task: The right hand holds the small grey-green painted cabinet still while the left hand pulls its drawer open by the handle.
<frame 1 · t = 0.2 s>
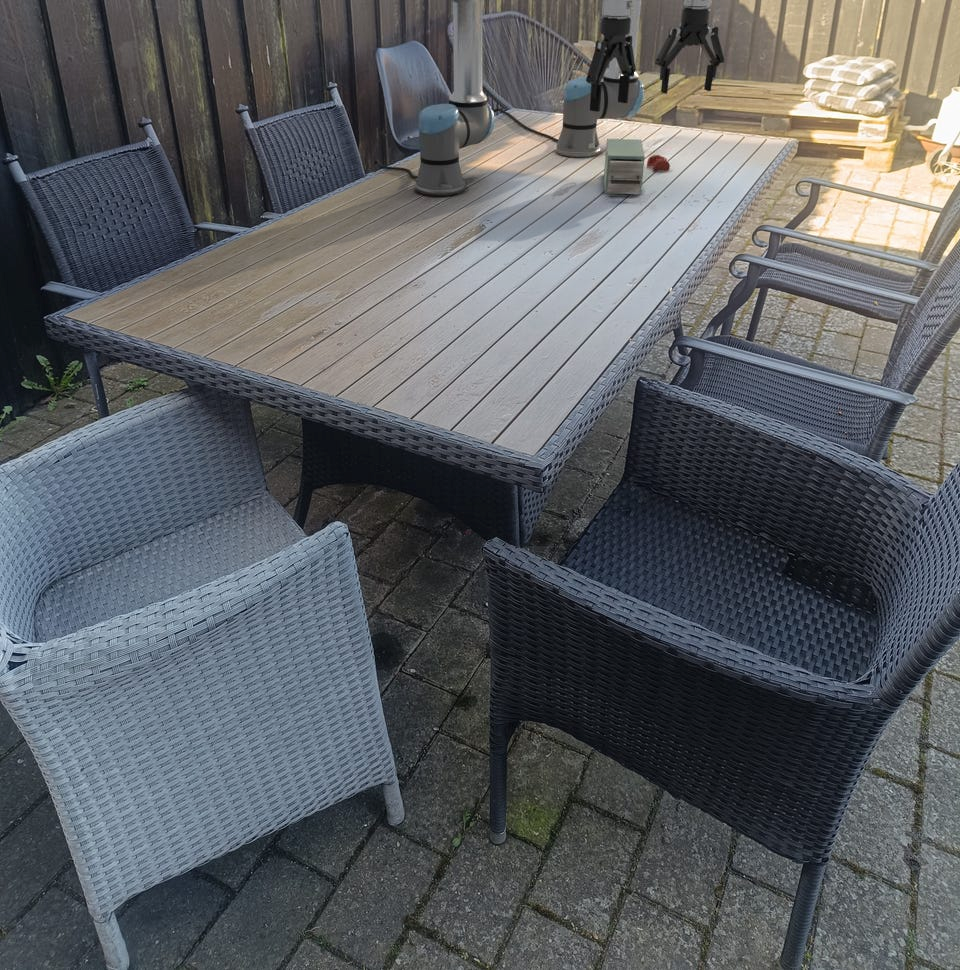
left hand: (608, 106, 226), 28 cm above the table, tool pointing down, fingers open, 13 cm apart
right hand: (685, 91, 242), 28 cm above the table, tool pointing down, fingers open, 13 cm apart
drawer: (624, 171, 255), point 6 cm above the table, slide at 1.8 cm
red-brown rounded lump: (657, 169, 277), on the table
cabinet: (621, 184, 263), on the table
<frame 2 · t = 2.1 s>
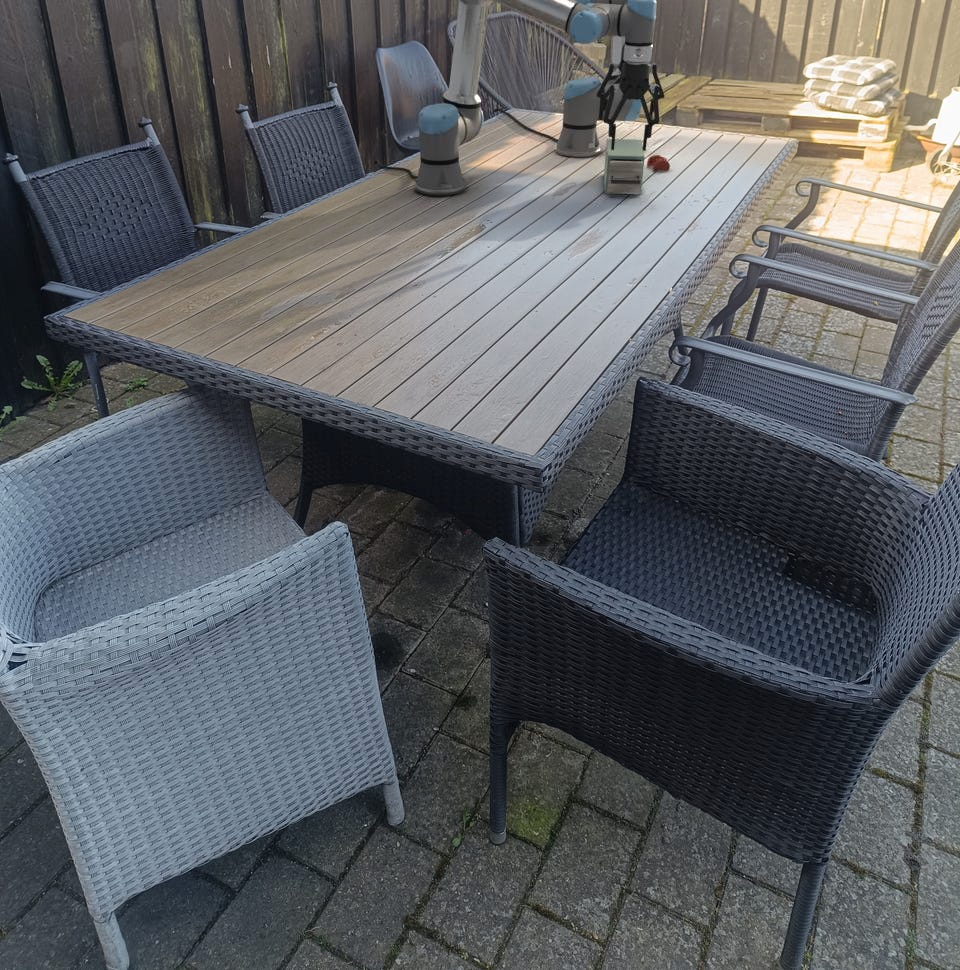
left hand: (628, 149, 242), 14 cm above the table, tool pointing down, fingers open, 8 cm apart
right hand: (627, 122, 258), 17 cm above the table, tool pointing down, fingers open, 13 cm apart
nothing on the table moved.
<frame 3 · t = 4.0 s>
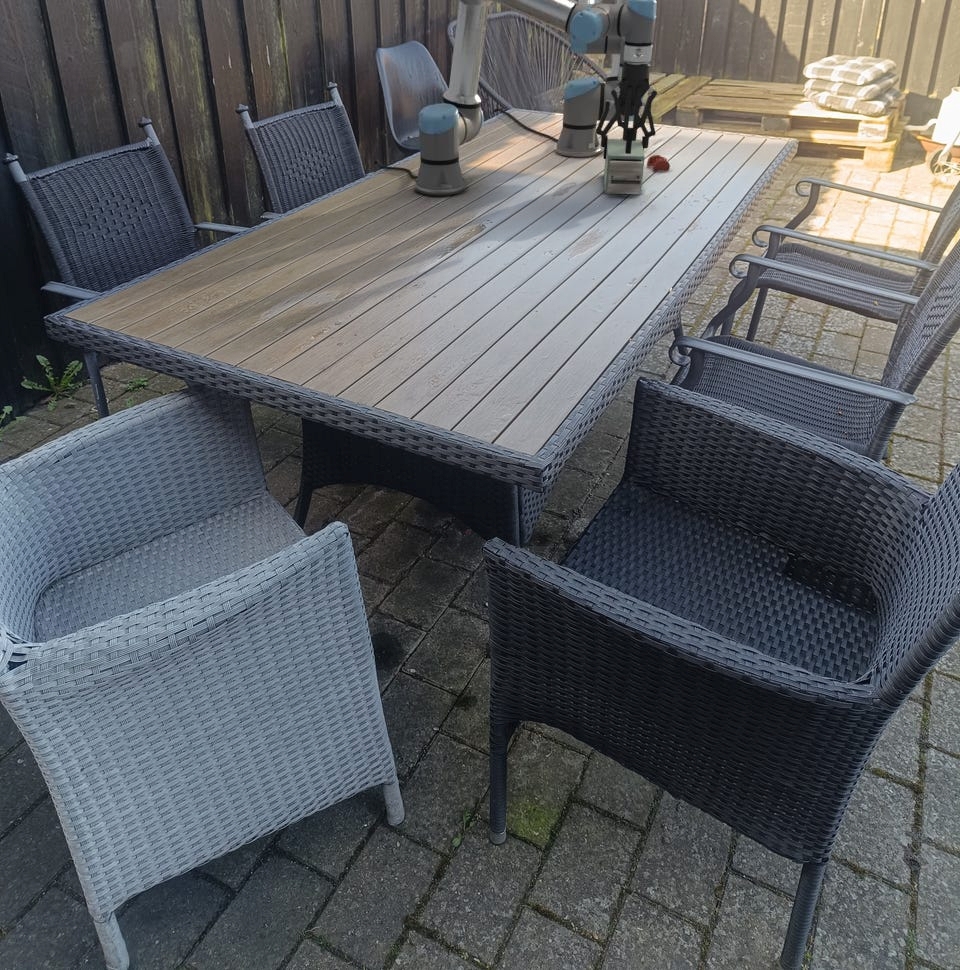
left hand: (627, 152, 243), 13 cm above the table, tool pointing down, fingers closed
right hand: (623, 158, 264), 6 cm above the table, tool pointing down, fingers closed on cabinet, 11 cm apart
cabinet: (621, 184, 263), on the table, touching right hand
everything else where it was.
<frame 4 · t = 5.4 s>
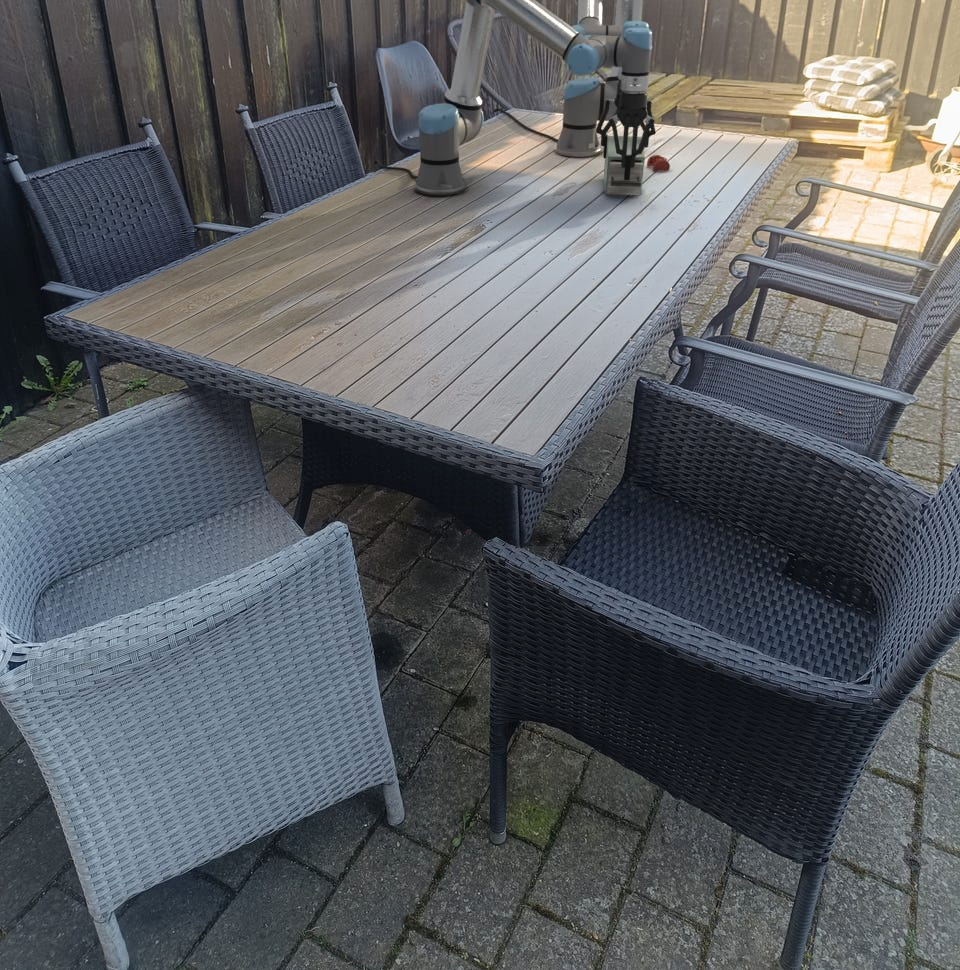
left hand: (626, 178, 246), 6 cm above the table, tool pointing down, fingers closed
right hand: (623, 157, 263), 7 cm above the table, tool pointing down, fingers closed on cabinet, 11 cm apart
drawer: (624, 171, 254), point 6 cm above the table, slide at 1.9 cm, touching left hand
cabinet: (621, 182, 263), point 1 cm above the table, touching right hand
everything else where it was.
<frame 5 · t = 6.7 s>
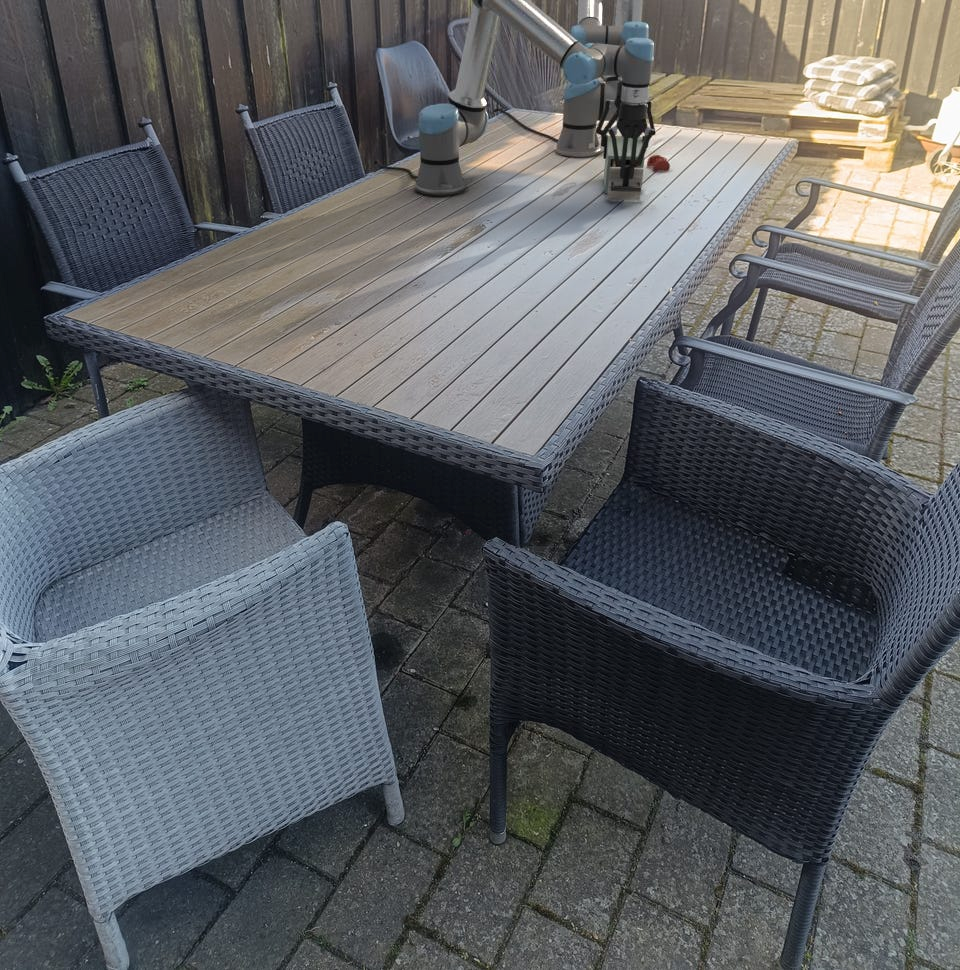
left hand: (625, 189, 244), 4 cm above the table, tool pointing down, fingers closed
right hand: (623, 158, 263), 7 cm above the table, tool pointing down, fingers closed on cabinet, 11 cm apart
drawer: (624, 176, 250), point 6 cm above the table, slide at 6.9 cm, touching left hand
cabinet: (621, 182, 263), point 1 cm above the table, touching right hand
everything else where it was.
when the right hand's fingers open (6 cm above the table, at t = 8.4 s): cabinet stays where it is, on the table.
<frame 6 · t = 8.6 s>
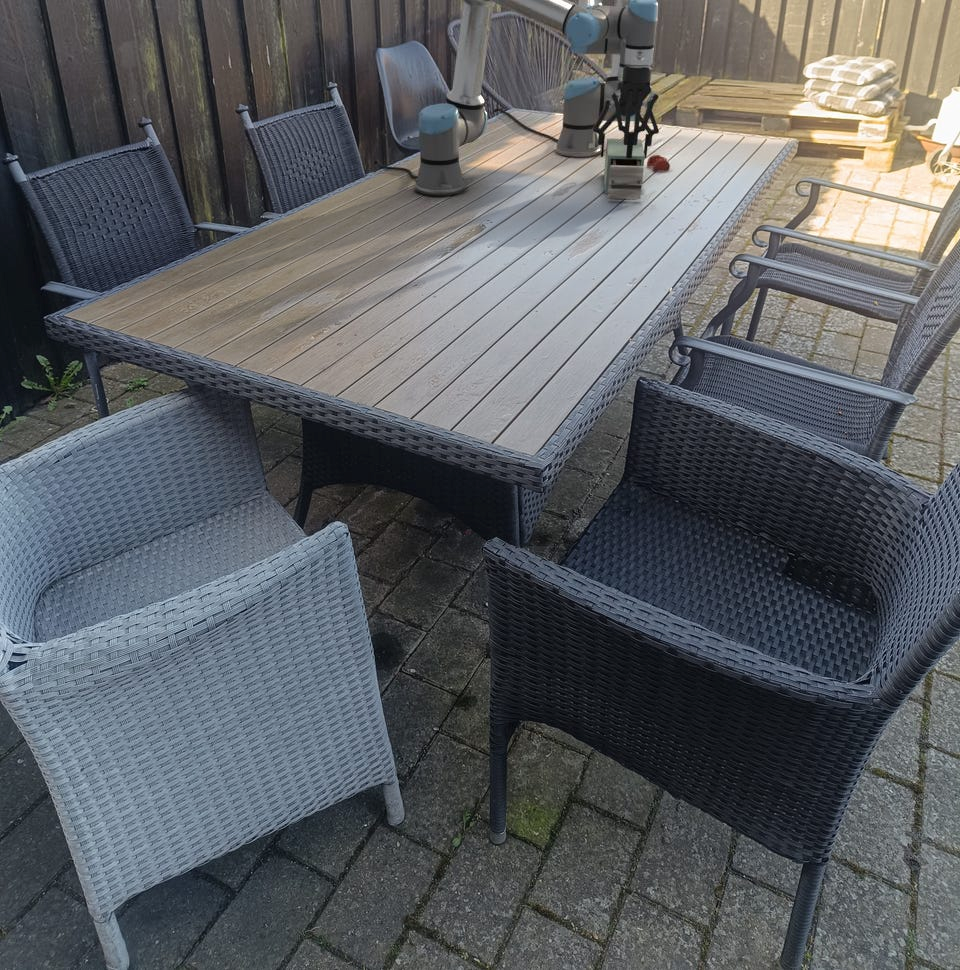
left hand: (628, 156, 239), 13 cm above the table, tool pointing down, fingers closed
right hand: (623, 156, 263), 7 cm above the table, tool pointing down, fingers open, 13 cm apart
drawer: (624, 176, 251), point 6 cm above the table, slide at 6.9 cm
cabinet: (621, 184, 263), on the table
everything else where it was.
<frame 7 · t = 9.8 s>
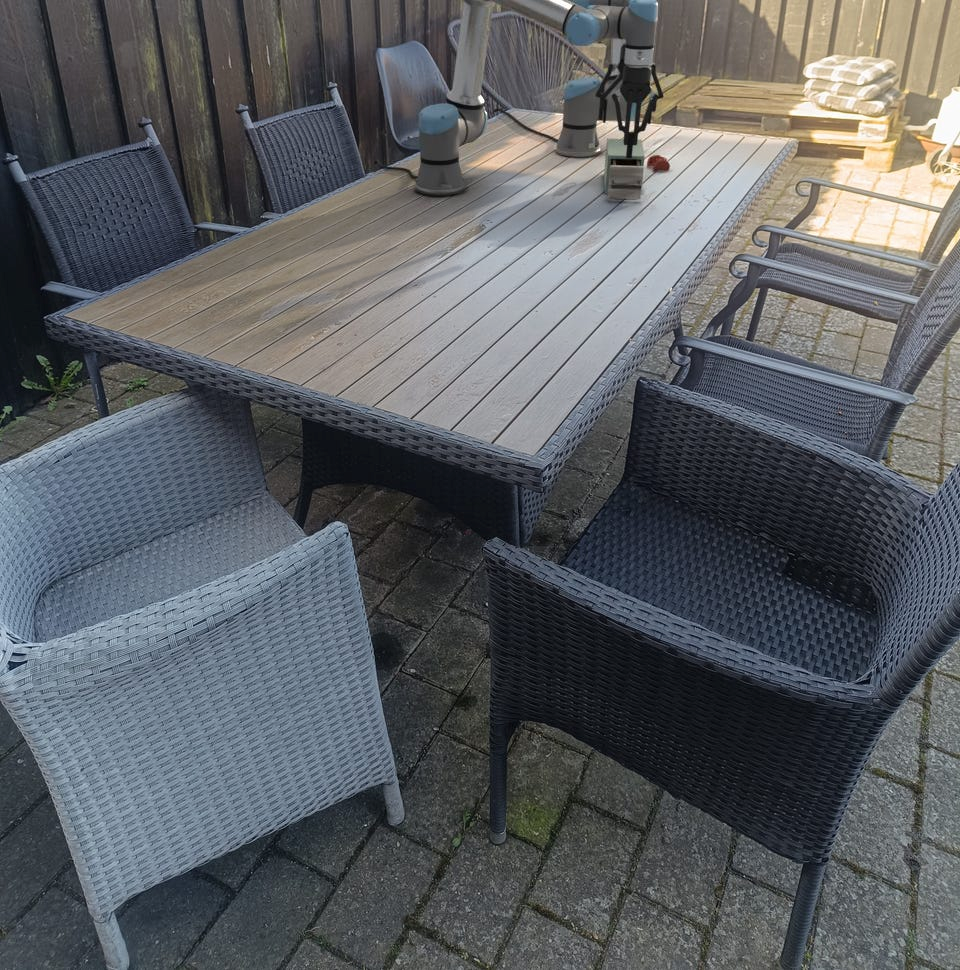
left hand: (628, 156, 239), 13 cm above the table, tool pointing down, fingers closed
right hand: (626, 122, 258), 17 cm above the table, tool pointing down, fingers open, 13 cm apart
nothing on the table moved.
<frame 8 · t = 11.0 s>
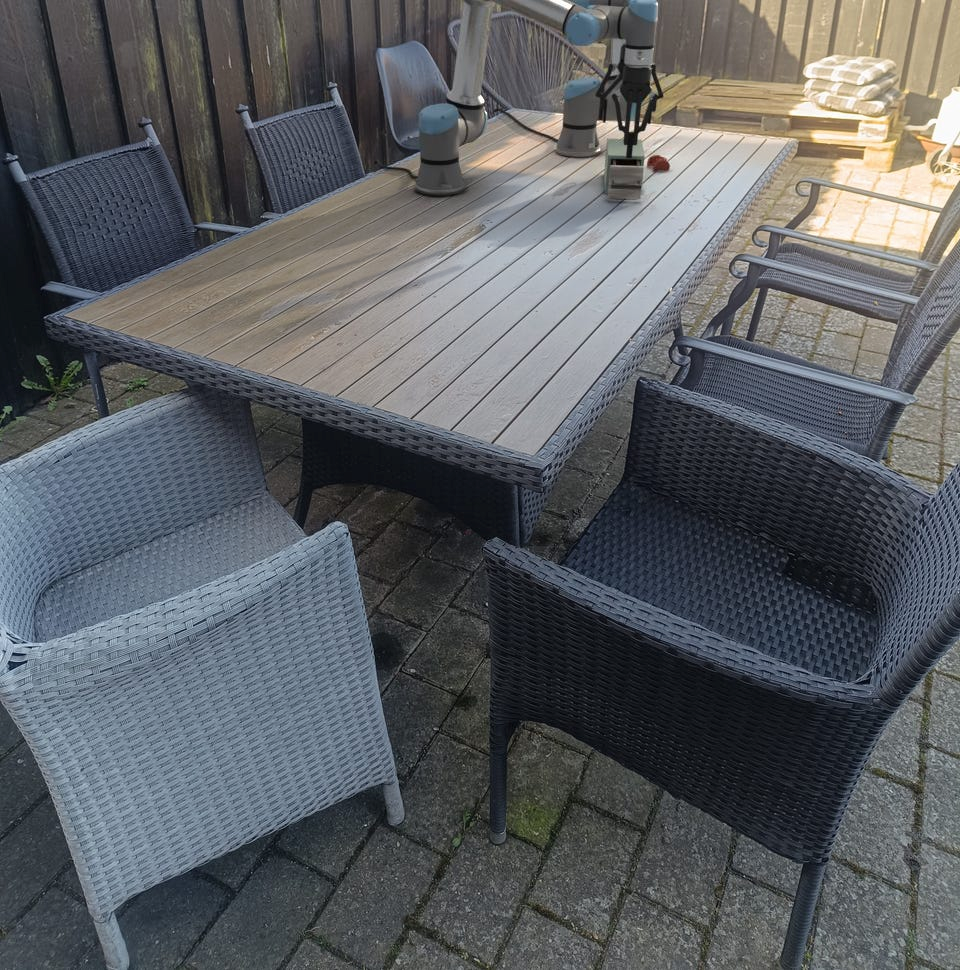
left hand: (628, 156, 239), 13 cm above the table, tool pointing down, fingers closed
right hand: (626, 122, 258), 17 cm above the table, tool pointing down, fingers open, 13 cm apart
nothing on the table moved.
at the end: drawer slide at 6.9 cm; cabinet tilted 0°; cabinet never tilted more than 4° during the clip; cabinet moved 0.2 cm from its start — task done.
